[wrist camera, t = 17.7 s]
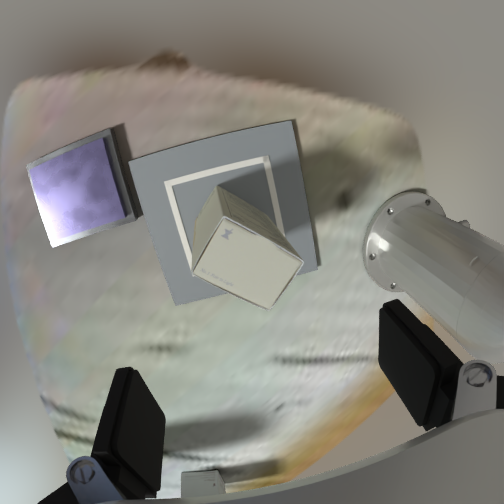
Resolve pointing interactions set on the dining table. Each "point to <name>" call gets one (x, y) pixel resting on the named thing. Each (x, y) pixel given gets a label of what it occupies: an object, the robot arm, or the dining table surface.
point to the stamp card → (231, 179)
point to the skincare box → (242, 250)
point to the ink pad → (82, 188)
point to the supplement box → (201, 484)
